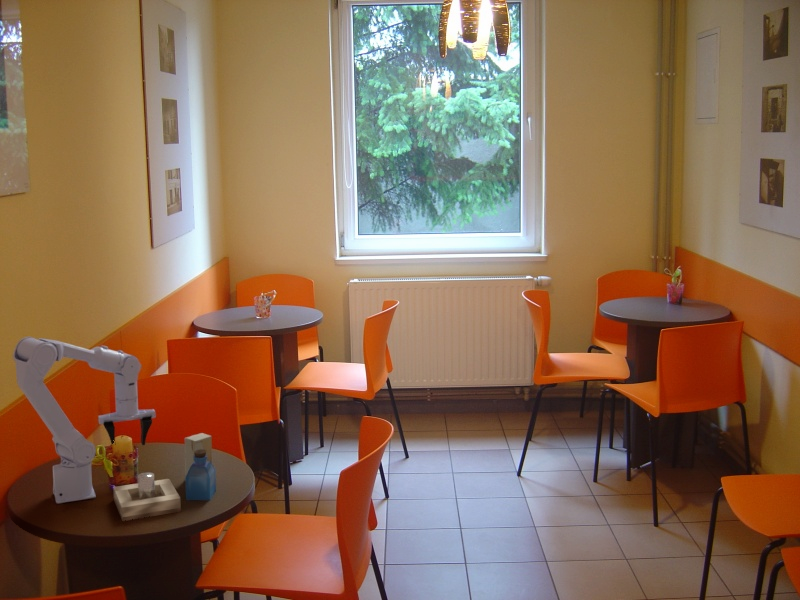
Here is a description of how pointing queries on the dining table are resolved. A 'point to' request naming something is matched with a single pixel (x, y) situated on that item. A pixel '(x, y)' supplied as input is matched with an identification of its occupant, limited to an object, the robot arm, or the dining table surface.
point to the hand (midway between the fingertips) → (128, 445)
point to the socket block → (146, 501)
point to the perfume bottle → (200, 478)
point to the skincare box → (197, 448)
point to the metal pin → (146, 485)
